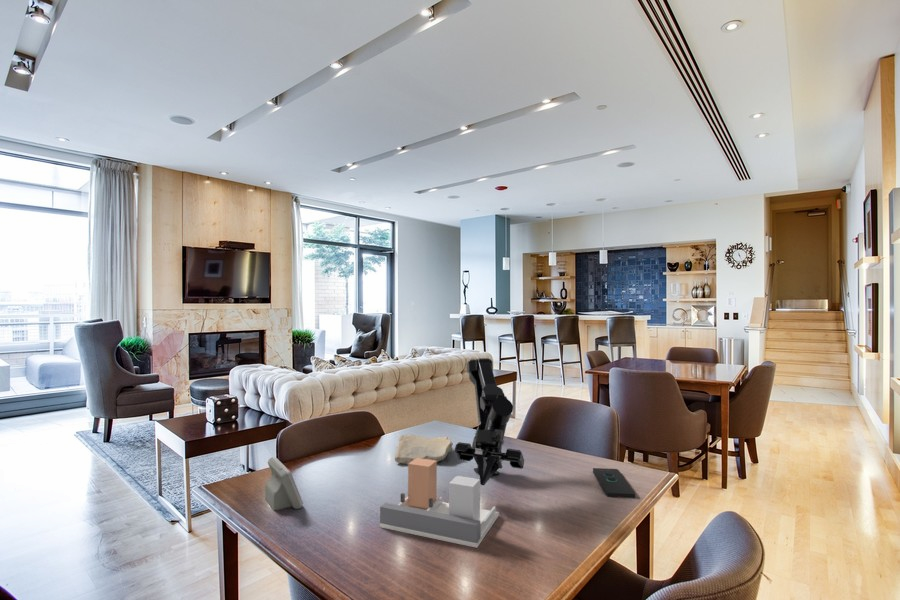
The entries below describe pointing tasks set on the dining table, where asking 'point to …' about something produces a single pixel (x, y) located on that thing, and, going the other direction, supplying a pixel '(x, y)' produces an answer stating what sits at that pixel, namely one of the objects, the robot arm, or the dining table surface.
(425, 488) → the tall tan brick
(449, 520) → the base
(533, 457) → the dining table surface
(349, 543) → the dining table surface
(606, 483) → the smart home device
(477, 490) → the tall white block
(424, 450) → the beige rock
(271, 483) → the digital clock
